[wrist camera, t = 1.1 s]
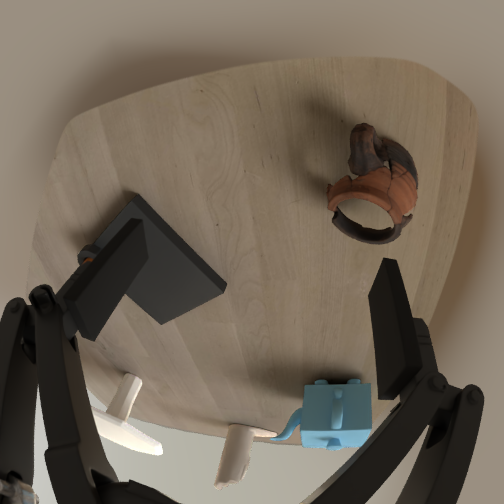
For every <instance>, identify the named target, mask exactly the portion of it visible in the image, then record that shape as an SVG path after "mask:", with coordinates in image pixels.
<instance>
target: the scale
mask: <svg viewBox="0 0 504 504" xmlns="http://www.w3.org/2000/svg"><path fill="white" fill-rule="evenodd" d="M131 218H136V219H143V225H144V231H145V238H146V244H147V250H148V256H149V259H148V260H147V262H146V263H145V265H144V266H143V268H142V269H141V270H140V272H139V273H138V275H137V276H136V278H135V279H134V281H133V282H132V284H131V285H130V287H129V288H128V290H127V291H126V293H125V294H126V295H127V296H128V297H130V298H131V299H132V300H133V301H134V302H135V303H136V304H137V305H139V306H140V307H141V308H142V309H143V310H144V311H145V312H147V313H148V314H149V315H150V316H151V317H152V318H154V319H155V320H156V321H157V322H158V323H159V324H161V325H162V324H164V323H166V322H168V321H170V320H172V319H174V318H176V317H178V316H180V315H182V314H184V313H186V312H188V311H190V310H192V309H194V308H196V307H198V306H200V305H202V304H204V303H206V302H208V301H209V300H211V299H213V298H215V297H217V296H219V295H221V294H223V293H224V291H225V289H226V286H227V283H226V282H225V281H224V280H223V279H222V278H221V277H220V276H219V275H218V274H217V273H216V272H215V271H214V270H213V269H212V268H211V267H210V266H209V265H208V264H207V263H206V262H205V261H204V260H203V259H201V258H200V257H199V256H198V255H197V254H196V253H195V252H194V251H193V250H192V249H191V248H190V246H189V245H188V244H187V243H186V242H185V241H184V240H183V239H182V238H181V237H180V236H179V235H178V234H177V233H176V232H175V231H174V230H173V229H172V228H171V227H170V226H169V225H168V224H167V223H166V222H165V221H164V220H163V219H162V218H161V217H160V216H159V215H158V214H157V213H156V212H155V211H154V210H153V209H152V208H151V207H150V205H149V204H148V203H147V202H146V201H145V200H144V199H143V198H142V197H141V196H140V195H139V194H138V195H136V196H135V197H134V198H133V199H132V200H131V201H130V202H129V203H128V204H127V206H126V207H125V208H124V209H123V210H122V211H121V212H120V213H119V214H118V216H117V217H116V218H115V219H114V220H113V221H112V222H111V224H110V225H109V226H108V227H107V228H106V229H105V231H104V232H103V233H102V234H101V235H100V236H99V238H98V239H97V240H96V241H95V243H94V244H92V245H86V246H85V247H84V248H83V249H82V250H81V251H80V252H79V254H78V255H77V257H78V263H79V265H82V263H83V262H84V261H85V260H86V259H87V258H92V259H94V258H95V257H96V256H97V255H98V254H99V252H100V251H101V250H102V249H103V248H104V247H105V246H106V245H107V243H108V242H109V241H110V240H111V239H112V238H113V237H114V236H115V235H116V234H117V232H118V231H119V230H120V229H121V228H122V227H123V226H124V225H125V224H126V223H127V222H128V221H129V220H130V219H131Z"/></svg>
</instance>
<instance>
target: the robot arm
mask: <svg viewBox="0 0 504 504" xmlns="http://www.w3.org/2000/svg"><path fill="white" fill-rule="evenodd" d="M148 259H149V256H148V250H147V244H146V238H145V231H144V225H143V219H136V218H131V219H130V220H129V221H128V222H127V223H126V224H125V225H124V226H123V227H122V228H121V229H120V230H119V231H118V232H117V234H116V235H115V236H114V237H113V238H112V239H111V240H110V241H109V242H108V243H107V245H106V246H105V247H104V248H103V249H102V250H101V251H100V252H99V254H98V255H97V256H96V257H95V258H94V259H93V261H92V262H91V261H86V262H85V263H83V264H82V265H80V266H79V267H78V268H77V270H76V271H75V272H74V274H72V275H71V277H70V278H69V279H68V280H67V281H66V283H65V284H64V285H63V286H62V287H61V289H60V290H59V291H58V292H57V294H56V295H55V294H54V292H53V289H52V287H51V286H49V285H46V284H43V285H39V286H37V287H35V288H34V289H33V290H32V291H31V292H30V294H29V297H28V298H29V300H30V302H31V304H32V305H27V304H26V303H25V301H24V299H23V298H20V297H17V298H14V299H12V300H10V301H9V302H8V303H7V305H6V307H5V310H4V312H3V315H2V318H1V321H0V504H38V503H39V497H38V496H37V495H36V494H35V492H34V491H33V489H32V485H33V477H34V476H33V475H34V426H35V410H36V399H37V388H38V385H39V393H40V400H41V408H42V414H43V420H44V425H45V431H46V436H47V441H48V449H47V450H46V451H45V454H44V456H45V462H46V466H47V470H48V474H49V477H50V481H51V484H52V488H53V491H54V494H55V497H56V500H57V503H58V504H181V503H179V502H177V501H176V500H174V499H172V498H170V497H169V496H167V495H165V494H163V493H161V492H160V491H158V490H156V489H154V488H151V487H148V486H146V485H143V484H140V483H138V482H135V481H133V480H129V482H119V480H118V478H117V476H116V473H115V471H114V470H113V468H112V466H111V465H110V464H109V462H108V460H107V458H106V455H105V452H104V449H103V446H102V443H101V440H100V437H99V434H98V430H97V427H96V423H95V420H94V416H93V413H92V409H91V405H90V401H89V397H88V394H87V390H86V385H85V380H84V375H83V371H82V366H81V360H80V355H79V349H78V343H77V338H76V336H75V334H76V332H77V331H78V330H79V332H80V334H81V336H82V337H83V338H86V339H89V340H91V341H95V340H96V338H97V336H98V335H99V333H100V331H101V330H102V328H103V327H104V325H105V323H106V322H107V320H108V319H109V317H110V316H111V314H112V312H113V311H114V309H115V308H116V306H117V305H118V303H119V302H120V300H121V299H122V297H123V296H124V294H125V293H126V291H127V290H128V288H129V287H130V285H131V284H132V282H133V281H134V279H135V278H136V276H137V275H138V273H139V272H140V270H141V269H142V268H143V266H144V265H145V263H146V262H147V260H148ZM368 299H369V306H370V313H371V321H372V330H373V339H374V348H375V359H376V371H377V386H378V399H379V400H394V399H395V398H396V397H397V396H398V395H399V394H400V402H399V403H398V404H397V405H396V406H395V407H394V408H393V409H392V410H391V411H390V412H391V413H390V414H389V415H388V417H387V418H386V419H385V420H384V421H383V423H382V424H381V425H380V426H379V427H378V428H377V430H376V431H375V432H374V433H373V434H372V436H370V438H369V439H368V440H367V441H366V442H365V443H364V444H363V445H362V446H361V447H360V448H359V449H358V450H357V451H356V452H355V454H354V455H353V456H352V457H351V458H350V459H349V460H348V461H347V462H346V463H345V464H344V465H343V466H342V467H341V468H339V469H338V470H337V471H336V472H335V473H334V474H333V475H332V476H331V477H330V478H329V479H328V480H327V481H326V482H325V483H323V484H322V485H321V486H320V487H319V488H318V489H317V490H315V491H314V492H313V493H312V494H311V495H310V496H308V497H307V498H306V499H305V500H303V501H302V502H301V503H300V504H365V503H366V502H367V501H368V500H369V499H370V498H371V496H373V494H374V493H375V492H376V491H377V490H378V489H379V488H380V487H381V485H382V484H383V483H384V482H385V481H386V480H387V478H388V477H389V476H390V475H391V474H392V472H393V471H394V470H395V469H396V468H397V466H398V465H399V464H400V462H401V461H402V460H403V458H404V457H405V456H406V455H407V453H408V452H409V451H410V449H411V448H412V446H413V445H414V444H415V442H416V441H417V439H418V438H419V436H420V435H421V434H422V432H423V431H424V429H425V428H426V426H427V425H429V428H428V431H427V434H426V437H425V439H424V442H423V445H422V447H421V450H420V452H419V455H418V457H417V459H416V462H415V464H414V466H413V469H412V471H411V473H410V475H409V477H408V480H407V482H406V484H405V486H404V488H403V490H402V492H401V494H400V496H399V498H398V500H397V502H396V504H456V503H457V500H458V498H459V495H460V492H461V490H462V487H463V484H464V481H465V478H466V475H467V472H468V468H469V465H470V462H471V458H472V455H473V451H474V447H475V444H476V439H477V435H478V431H479V426H480V421H481V416H482V411H483V406H484V395H483V392H482V391H481V389H480V388H479V387H477V386H476V385H473V384H470V385H467V386H466V387H465V388H464V389H460V388H457V387H454V386H451V385H449V384H448V382H447V380H446V378H445V377H444V376H443V374H441V373H439V372H438V368H437V364H436V359H435V354H434V351H433V346H432V342H431V338H430V334H429V330H428V327H427V325H426V324H425V322H424V321H423V319H421V318H413V317H412V313H411V309H410V305H409V301H408V298H407V294H406V290H405V287H404V283H403V280H402V276H401V273H400V270H399V266H398V263H397V260H395V259H389V258H383V260H382V263H381V265H380V268H379V270H378V273H377V275H376V278H375V280H374V283H373V285H372V288H371V290H370V292H369V295H368Z"/></svg>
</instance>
